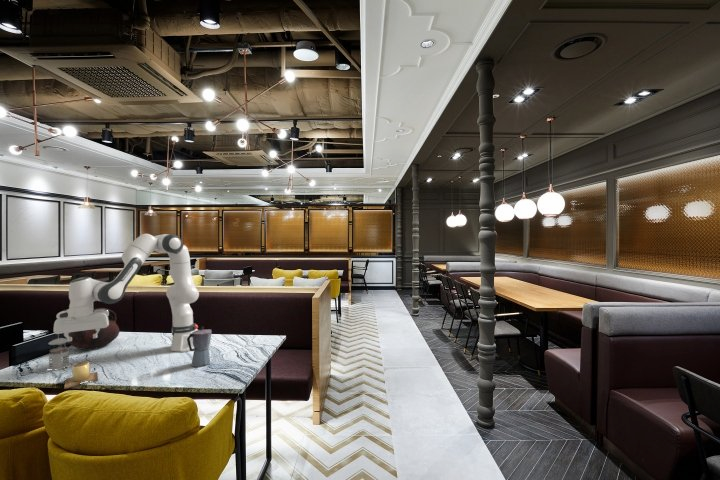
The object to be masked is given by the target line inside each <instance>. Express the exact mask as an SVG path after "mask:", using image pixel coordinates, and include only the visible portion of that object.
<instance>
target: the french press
mask: <svg viewBox="0 0 720 480" xmlns="http://www.w3.org/2000/svg"><path fill="white" fill-rule="evenodd" d="M59 336H60V334H57V338H54V339H52V340H51V341H49V342H48V343H47V344H48V345H50V346H55V345H56V346H57V345H58V347H56V348H55V347H54V348H52V349H50V350H49V353H48V361H49V362H48V368H47V369H52V370H55V369H61V368H64V367H68V366H70V365H71V364H72V363H70V356H69V355H70V350H69V349H68V348H69V347H67V346H62V345H66V343H69V342H68V341H67V338H66V337H65V338H63V337H59ZM71 366H72V365H71ZM71 366H70V367H71ZM68 368H69V367H68ZM61 370H62V369H61Z"/></svg>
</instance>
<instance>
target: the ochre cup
mask: <svg viewBox="0 0 720 480" xmlns="http://www.w3.org/2000/svg"><path fill="white" fill-rule="evenodd" d="M90 373H91V371H90V362H89V361H81V362H77V363H74V364H73V365H72V377H73V381H74V382H78V381H83V380H86V379H88V378H89V377H90Z"/></svg>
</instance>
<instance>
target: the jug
mask: <svg viewBox="0 0 720 480" xmlns="http://www.w3.org/2000/svg"><path fill="white" fill-rule="evenodd" d="M99 309H105V311H106V310H108V311H109V316H110V319H108V321H109V325H108V326H107V327H106V328H100V330H99V332H98V334H97V338H93V334H96V332H97V331H96V329H92V330H84V331H76V332H69V334H68V335H69V336H70V337H72V341H71V342H68V344H69V345H71V346H72V347H74V348H76V349H79V350H95V349H100V348H102V347H106V346H107V345H109V344H111V343H112V342H113V341H115V339H117V337H118V336H119V333H120V328H119V326H118V324H117V322H116V321H117V314H116V312H114V311H113V310H111V309H109V308H106V307H105V308H104V307H99V308H93V310H99Z"/></svg>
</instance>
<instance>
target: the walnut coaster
mask: <svg viewBox="0 0 720 480" xmlns="http://www.w3.org/2000/svg"><path fill="white" fill-rule="evenodd" d="M65 379H66V380H64V387H63V389H69V388H73V387H74V388H75V387H77V386H80V385H79V384H80V383H81V382H85V381H88V382H90V381H95V382H98V381H99V376H98V371H94V372H90V377H89V378H88V379H86V380H83V381H78V382H74V381H73V376H72V377H67V378H65ZM97 380H98V381H97Z"/></svg>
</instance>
